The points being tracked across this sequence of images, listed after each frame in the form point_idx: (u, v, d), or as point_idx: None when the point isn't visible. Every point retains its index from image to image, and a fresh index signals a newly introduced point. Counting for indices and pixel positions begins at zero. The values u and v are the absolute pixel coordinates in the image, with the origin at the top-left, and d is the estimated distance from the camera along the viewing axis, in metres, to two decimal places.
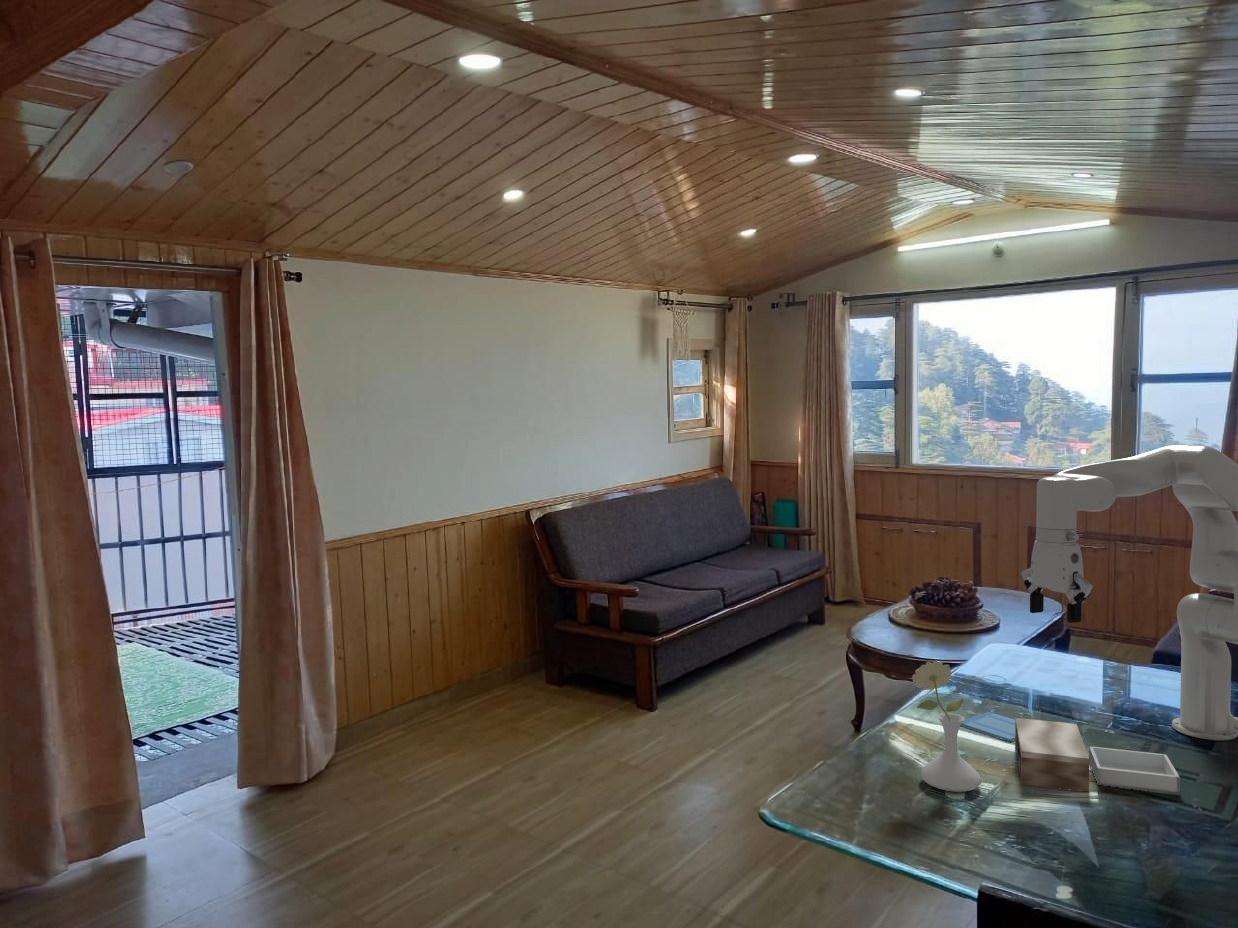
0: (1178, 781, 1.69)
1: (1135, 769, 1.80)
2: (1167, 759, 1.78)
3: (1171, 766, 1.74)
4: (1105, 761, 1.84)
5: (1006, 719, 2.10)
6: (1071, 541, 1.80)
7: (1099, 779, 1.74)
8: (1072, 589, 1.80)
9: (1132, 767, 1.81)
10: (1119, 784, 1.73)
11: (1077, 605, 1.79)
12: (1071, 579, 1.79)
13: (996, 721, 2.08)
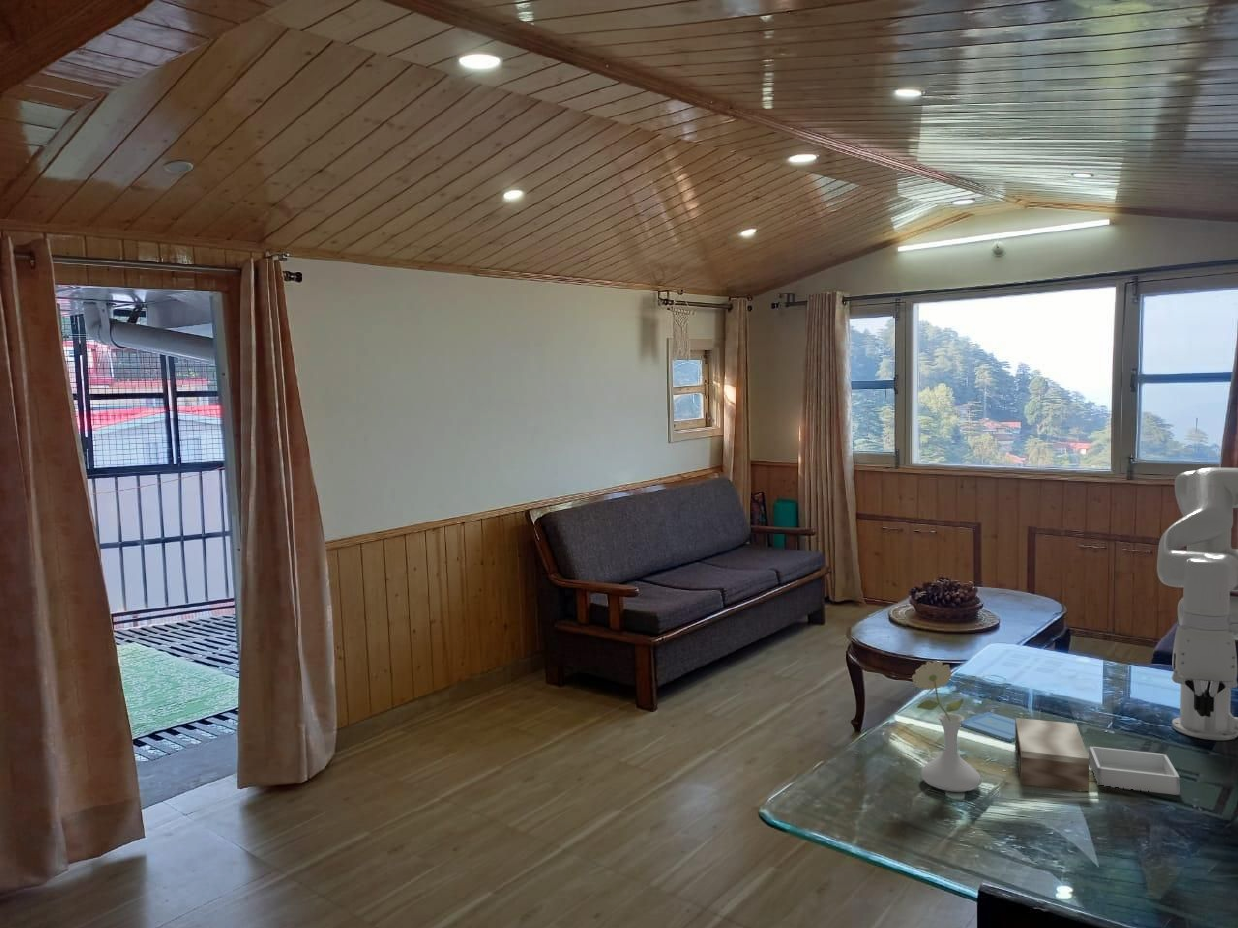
0: (1178, 781, 1.69)
1: (1135, 769, 1.80)
2: (1167, 759, 1.78)
3: (1171, 766, 1.74)
4: (1105, 761, 1.84)
5: (1006, 719, 2.10)
6: None
7: (1099, 779, 1.74)
8: None
9: (1132, 767, 1.81)
10: (1119, 784, 1.73)
11: None
12: None
13: (995, 721, 2.08)
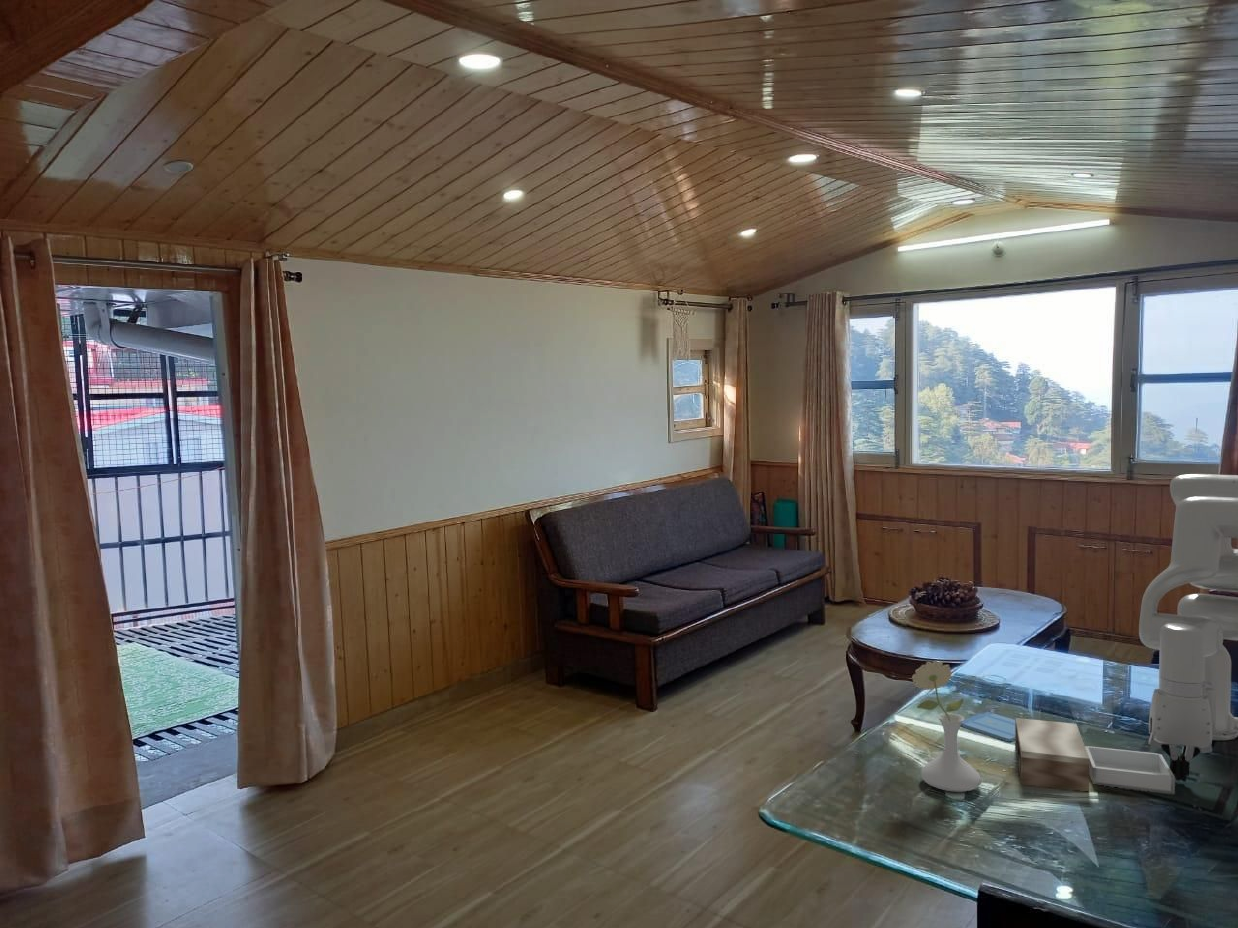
0: (1173, 780, 1.69)
1: (1130, 768, 1.80)
2: (1162, 758, 1.78)
3: (1166, 765, 1.74)
4: (1100, 761, 1.84)
5: (1006, 719, 2.10)
6: None
7: (1094, 778, 1.74)
8: None
9: (1127, 767, 1.81)
10: (1114, 783, 1.73)
11: None
12: None
13: (995, 721, 2.08)
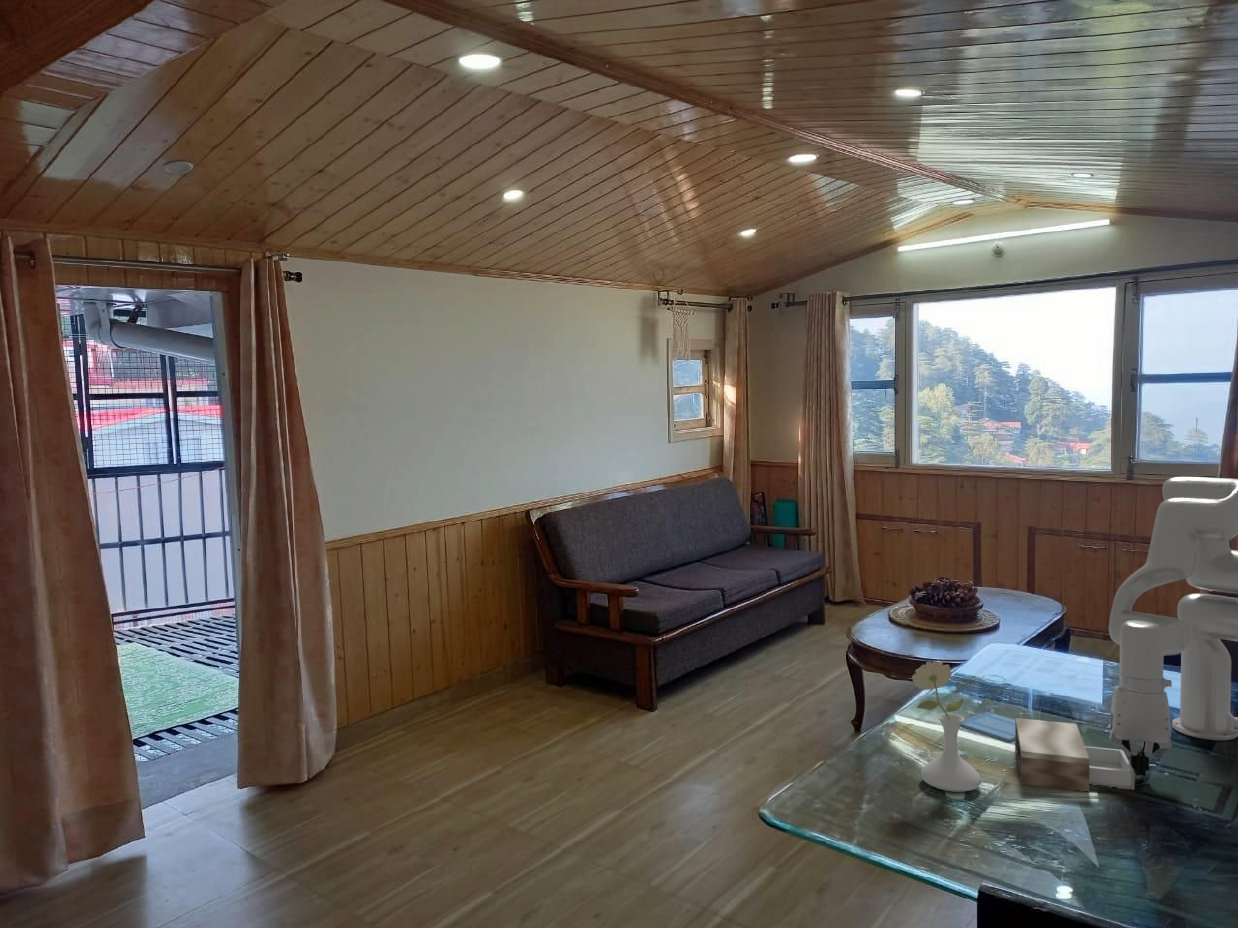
0: (1133, 776, 1.72)
1: (1092, 764, 1.83)
2: (1123, 754, 1.80)
3: (1127, 761, 1.77)
4: None
5: (1005, 719, 2.10)
6: None
7: None
8: None
9: (1089, 763, 1.84)
10: None
11: None
12: (1170, 728, 1.73)
13: (995, 721, 2.08)
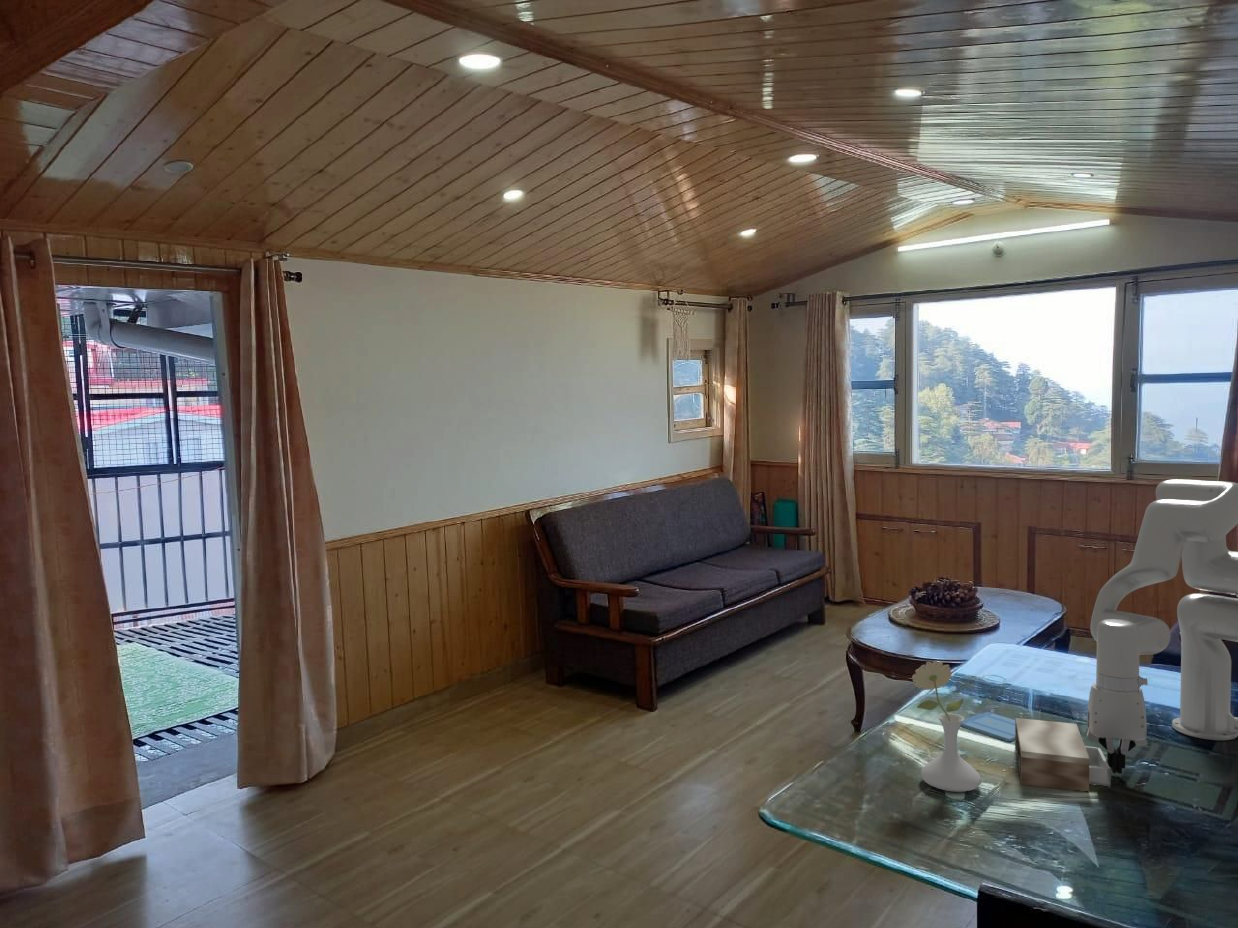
0: (1109, 773, 1.73)
1: None
2: (1100, 752, 1.82)
3: (1103, 759, 1.78)
4: None
5: (1005, 719, 2.10)
6: None
7: None
8: None
9: None
10: None
11: None
12: None
13: (994, 721, 2.08)
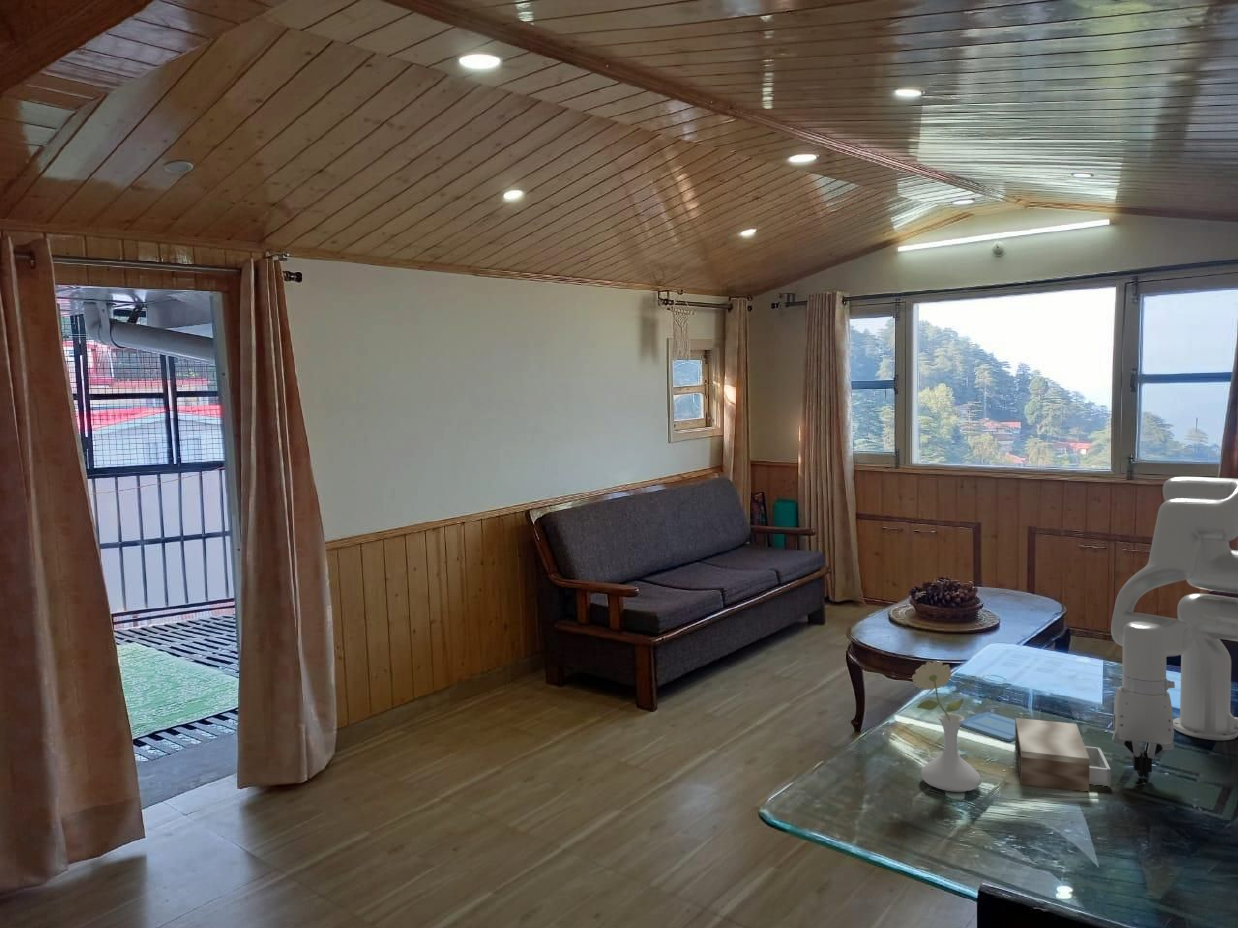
0: (1109, 773, 1.73)
1: None
2: (1100, 752, 1.82)
3: (1103, 759, 1.78)
4: None
5: (1005, 719, 2.10)
6: None
7: None
8: None
9: None
10: None
11: None
12: (1173, 729, 1.73)
13: (994, 721, 2.08)
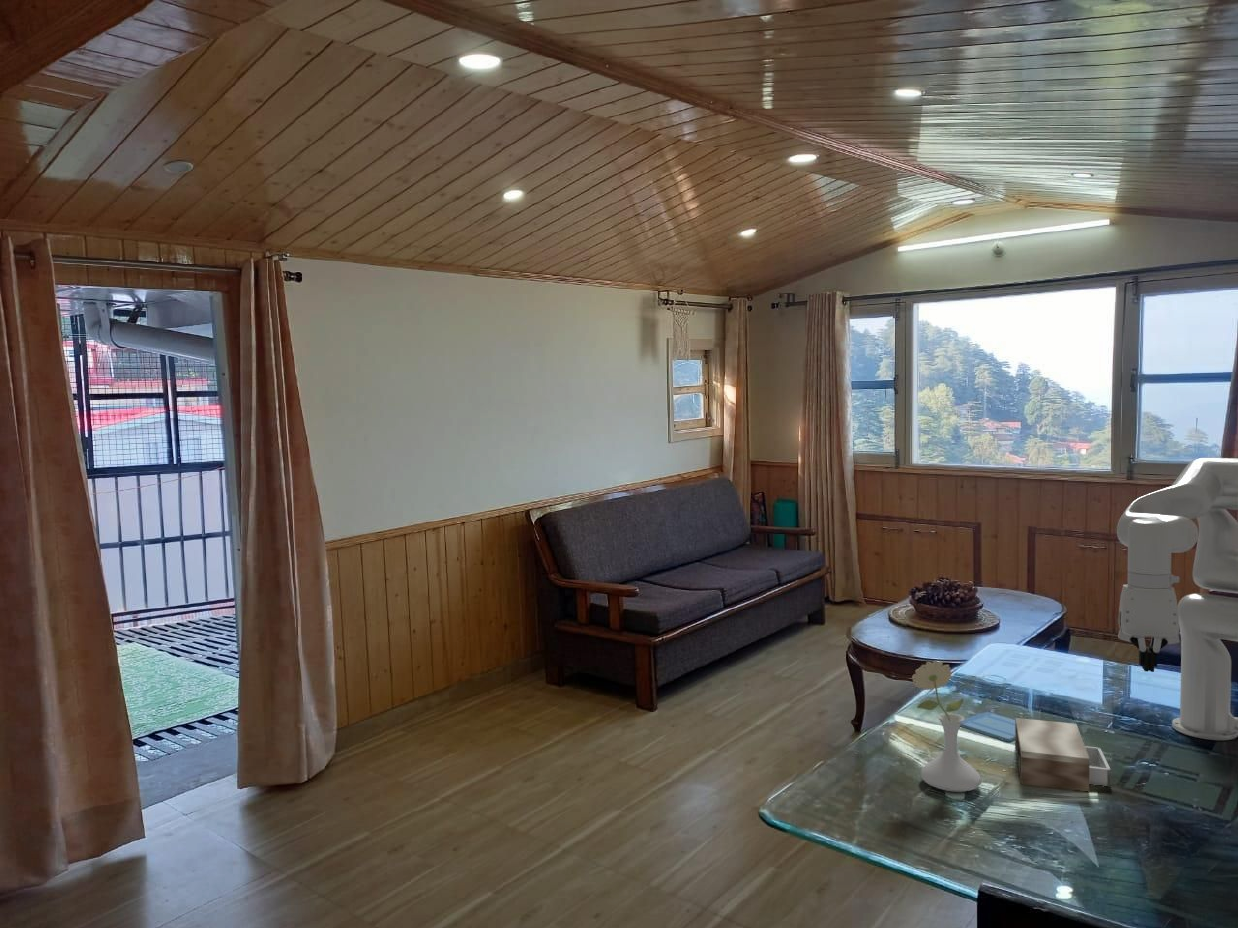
0: (1109, 773, 1.73)
1: None
2: (1100, 752, 1.82)
3: (1103, 759, 1.78)
4: None
5: (1005, 719, 2.10)
6: None
7: None
8: None
9: None
10: None
11: None
12: (1178, 623, 1.75)
13: (994, 721, 2.08)
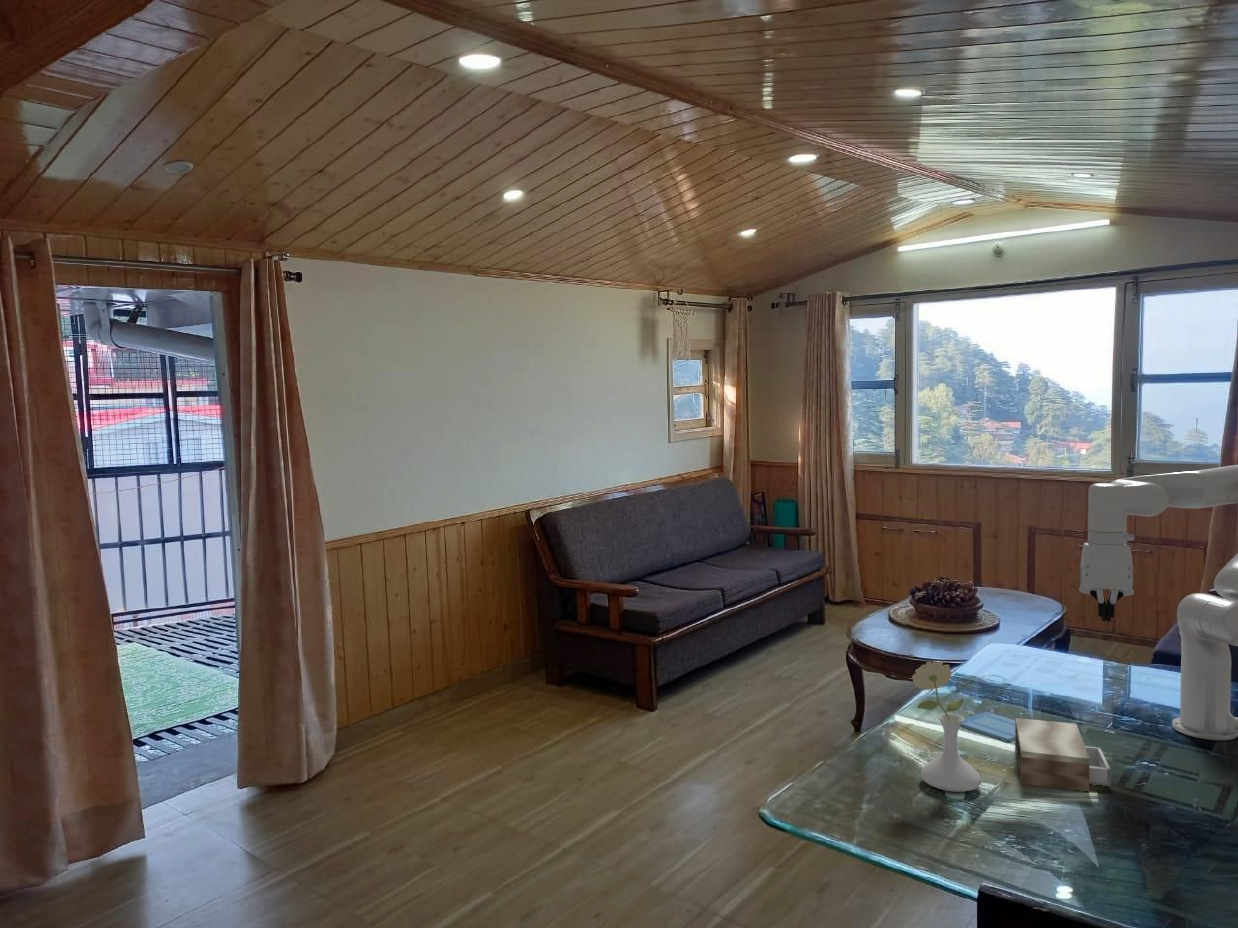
0: (1109, 773, 1.73)
1: None
2: (1100, 752, 1.82)
3: (1103, 759, 1.78)
4: None
5: (1005, 719, 2.10)
6: None
7: None
8: None
9: None
10: None
11: None
12: None
13: (994, 721, 2.08)
